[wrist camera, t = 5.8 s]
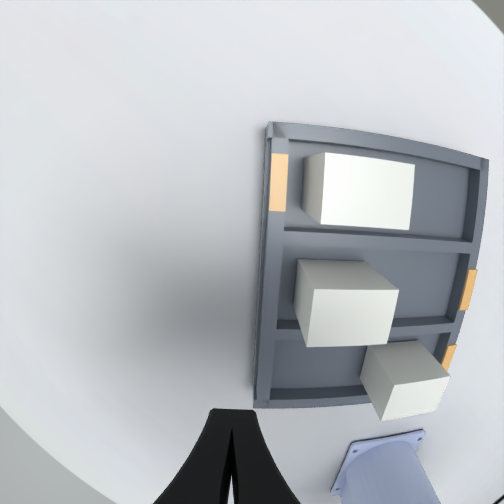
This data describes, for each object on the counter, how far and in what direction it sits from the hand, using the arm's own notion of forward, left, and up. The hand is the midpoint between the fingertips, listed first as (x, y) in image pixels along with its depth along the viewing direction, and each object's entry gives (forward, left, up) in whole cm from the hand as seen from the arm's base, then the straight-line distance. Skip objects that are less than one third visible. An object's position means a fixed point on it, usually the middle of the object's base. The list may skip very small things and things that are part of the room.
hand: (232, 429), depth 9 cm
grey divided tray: (+2, -8, -11) cm, 14 cm away
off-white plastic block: (+7, -5, -9) cm, 13 cm away
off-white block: (+2, -5, -9) cm, 11 cm away
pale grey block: (-4, -10, -9) cm, 14 cm away
